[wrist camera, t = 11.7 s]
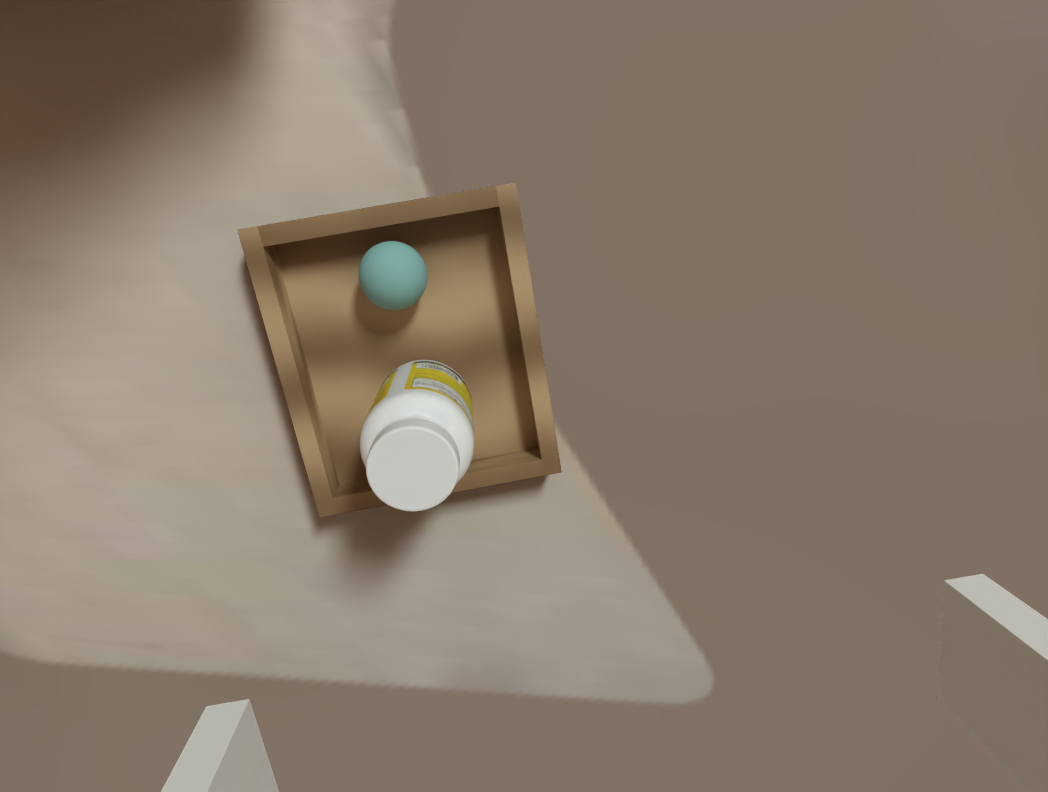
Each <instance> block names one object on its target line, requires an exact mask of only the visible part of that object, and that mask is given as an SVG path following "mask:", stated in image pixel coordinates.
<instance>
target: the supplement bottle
mask: <svg viewBox="0 0 1048 792" xmlns="http://www.w3.org/2000/svg"><path fill="white" fill-rule="evenodd" d="M473 451H474V426H473V409H472V399H471V395H470V392H469V389H468V387H467V385H466V383H465V381H464V380H463V379H462V377H461V376H460V375H459V374H458V373H457V372H456V371H455V370H453V369H452V368H450V367H449V366H447V365H445V364H442V363H440V362H436V361H432V360H416V361H411V362H408V363H405V364H403V365H401V366H399V367H398V368H396V369H395V370H394V371H393V372H391V373H390V374H389V375H388V377H387V378H386V379H385V381H384V382H383V384H382V385H381V387H380V389H379V392H378V394H377V396H376V398H375V400H374V402H373V404H372V406H371V408H370V411H369V413H368V415H367V417H366V419H365V421H364V424H363V427H362V431H361V435H360V452H361V457H362V460H363V463H364V465H365V467H366V475H367V479H368V483H369V485H370V487H371V489H372V490H373V492H374V493H375V494H376V496H377V497H378V498H379V499H380V500H382V501H383V502H384V503H386V504H387V505H389V506H391V507H393V508H396V509H399V510H403V511H422V510H427V509H429V508H432V507H434V506H437V505H438V504H440V503H441V502H443V501H444V500H445V499H446V498H447V497H448V496H449V495H450V493H451V492H452V491H453V489H454V487H455V485H456V483H457V482H459V480H460V479H461V478H462V477H463V476H464V474H465V473H466V471H467V470H468V468H469V465H470V463H471V460H472V456H473Z"/></svg>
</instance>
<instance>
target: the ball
mask: <svg viewBox="0 0 1048 792" xmlns="http://www.w3.org/2000/svg"><path fill="white" fill-rule="evenodd" d="M358 278H359V283H360V286H361V288H362V291H363V292H364V294H365V295H366V297H367V298H368V299H369V300H370V301H371V302H373V303H374V304H375V305H377V306H379V307H381V308H384V309H389V310H400V309H404V308H407V307H409V306H411V305H413V304H414V303H415V302H417V301H418V300H419V299H420V297H421V296H422V294H423V293H424V291H425V288H426V285H427V269H426V265H425V263H424V261H423V259H422V257H421V256H420V255H419V253H418V252H417V251H416V250H415V249H413V248H412V247H410V246H409V245H407V244H404V243H401V242H397V241H386V242H381V243H379V244H377V245H375V246H373V247H372V248H370V249H369V250H368V251H367V252H366V253H365V255H364V256H363V258H362V260H361V262H360V265H359V271H358Z"/></svg>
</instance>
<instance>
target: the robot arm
mask: <svg viewBox="0 0 1048 792" xmlns="http://www.w3.org/2000/svg"><path fill="white" fill-rule="evenodd" d="M936 698H937V699H938V700H939V701H940V702H941V704H942V705H943V706H944V707H945V708H946V709H947V710H948V711H949V712H950V713H951V714H952V715H953V716H954V717H955V718H956V719H957V720H958V721H959V722H960V723H961V724H962V725H963V726H964V727H965V728H966V730H968V732H969V733H970V734H971V735H972V736H973V737H974V738H975V739H976V740H977V741H978V742H979V743H980V744H981V745H982V746H983V747H984V748H985V749H986V750H987V751H988V752H989V753H990V754H991V755H992V757H993V758H994V759H995V760H996V761H997V762H998V763H999V764H1000V765H1001V766H1002V767H1003V768H1004V769H1005V770H1006V771H1007V772H1008V773H1009V774H1010V775H1011V776H1012V777H1013V778H1014V779H1015V780H1016V781H1017V782H1018V784H1019V785H1021V786H1022V788H1023V789H1024V790H1025V791H1026V792H1048V619H1046V618H1045V617H1043V616H1042V615H1041V614H1039V613H1038V612H1036V611H1035V610H1033V609H1032V608H1031V607H1029V606H1028V605H1026V604H1025V603H1024V602H1022V601H1021V600H1019V599H1018V598H1016V597H1015V596H1013V595H1012V594H1011V593H1009V592H1008V591H1006V590H1005V589H1003V588H1002V587H1001V586H999V585H998V584H996V583H995V582H994V581H992V580H991V579H989V578H988V577H986V576H985V575H984V574H979V575H974V576H968V577H962V578H956V579H950V580H945V581H944V592H943V605H942V619H941V634H940V648H939V662H938V677H937V690H936ZM161 792H279V791H278V787H277V784H276V781H275V778H274V775H273V772H272V769H271V765H270V762H269V760H268V756H267V753H266V750H265V747H264V744H263V741H262V737H261V734H260V731H259V728H258V725H257V722H256V719H255V716H254V713H253V709H252V706H251V703H250V700H249V699H247V700H241V701H235V702H229V703H223V704H218V705H212V706H207V707H206V709H205V710H204V712H203V714H202V716H201V718H200V720H199V721H198V724H197V725H196V727H195V729H194V731H193V733H192V735H191V736H190V738H189V740H188V742H187V744H186V746H185V748H184V750H183V752H182V753H181V755H180V757H179V759H178V761H177V763H176V765H175V767H174V768H173V770H172V772H171V774H170V776H169V778H168V780H167V782H166V784H165V785H164V787H163V789H162V791H161Z"/></svg>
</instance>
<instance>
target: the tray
mask: <svg viewBox="0 0 1048 792" xmlns="http://www.w3.org/2000/svg"><path fill="white" fill-rule="evenodd" d="M237 231H238V234H239V238H240V241H241V245H242V248H243V252H244V255H245V259H246V262H247V266H248V269H249V273H250V276H251V280H252V283H253V287H254V290H255V294H256V297H257V301H258V304H259V308H260V311H261V315H262V318H263V322H264V325H265V329H266V332H267V336H268V339H269V342H270V346H271V349H272V353H273V356H274V360H275V363H276V367H277V370H278V374H279V377H280V381H281V384H282V388H283V391H284V395H285V398H286V402H287V405H288V409H289V412H290V416H291V419H292V423H293V426H294V430H295V433H296V437H297V440H298V444H299V447H300V451H301V454H302V458H303V461H304V465H305V468H306V472H307V475H308V479H309V482H310V486H311V489H312V493H313V496H314V500H315V503H316V507H317V510H318V513H319V517H324V516H330V515H335V514H340V513H346V512H351V511H357V510H362V509H367V508H373V507H378V506H383V505H387V504H386V503H384V502H383V501H382V500H380V499H379V498H378V497H377V496H376V494H375V493H374V492H373V490H372V489H371V487H370V485H369V483H368V479H367V475H366V467H365V465H364V463H363V460H362V457H361V452H360V435H361V431H362V427H363V424H364V421H365V419H366V417H367V415H368V413H369V411H370V408H371V406H372V404H373V402H374V400H375V398H376V396H377V394H378V392H379V389H380V387H381V385H382V384H383V382H384V381H385V379H386V378H387V377H388V375H389V374H390V373H391V372H393V371H394V370H395V369H396V368H398V367H399V366H401V365H403V364H405V363H408V362H411V361H416V360H432V361H436V362H440V363H442V364H445V365H447V366H449V367H450V368H452V369H453V370H455V371H456V372H457V373H458V374H459V375H460V376H461V377H462V379H463V380H464V381H465V383H466V385H467V387H468V389H469V392H470V395H471V399H472V409H473V426H474V451H473V456H472V460H471V463H470V465H469V468H468V470H467V471H466V473H465V474H464V476H463V477H462V478H461V479H460V480H459V482H457V483H456V485H455V487H454V489H453V491H452V492H451V493H453V492H459V491H464V490H469V489H475V488H480V487H486V486H491V485H496V484H502V483H507V482H512V481H518V480H523V479H529V478H534V477H539V476H545V475H550V474H555V473H561V465H560V459H559V453H558V447H557V440H556V434H555V428H554V421H553V415H552V409H551V403H550V396H549V390H548V384H547V377H546V372H545V365H544V359H543V352H542V346H541V340H540V334H539V327H538V322H537V315H536V308H535V302H534V296H533V289H532V283H531V277H530V271H529V264H528V258H527V252H526V246H525V239H524V233H523V227H522V220H521V214H520V208H519V201H518V195H517V189H516V183H510V184H504V185H498V186H492V187H486V188H480V189H474V190H468V191H462V192H457V193H451V194H445V195H440V196H433V197H427V198H421V199H415V200H409V201H404V202H398V203H392V204H386V205H380V206H374V207H368V208H362V209H356V210H351V211H345V212H339V213H333V214H327V215H321V216H315V217H309V218H304V219H298V220H292V221H286V222H280V223H274V224H268V225H262V226H256V227H251V228H245V229H239V230H237ZM386 241H397V242H401V243H404V244H407V245H409V246H410V247H412V248H413V249H415V250H416V251H417V252H418V253H419V255H420V256H421V257H422V259H423V261H424V263H425V265H426V269H427V285H426V288H425V291H424V293H423V294H422V296H421V297H420V299H419V300H418V301H417V302H415V303H414V304H413V305H411V306H409V307H407V308H404V309H400V310H389V309H384V308H381V307H379V306H377V305H375V304H374V303H373V302H371V301H370V300H369V299H368V298H367V297H366V295H365V294H364V292H363V291H362V288H361V286H360V283H359V278H358V271H359V265H360V262H361V260H362V258H363V256H364V255H365V253H366V252H367V251H368V250H369V249H370V248H372V247H373V246H375V245H377V244H379V243H381V242H386Z"/></svg>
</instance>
